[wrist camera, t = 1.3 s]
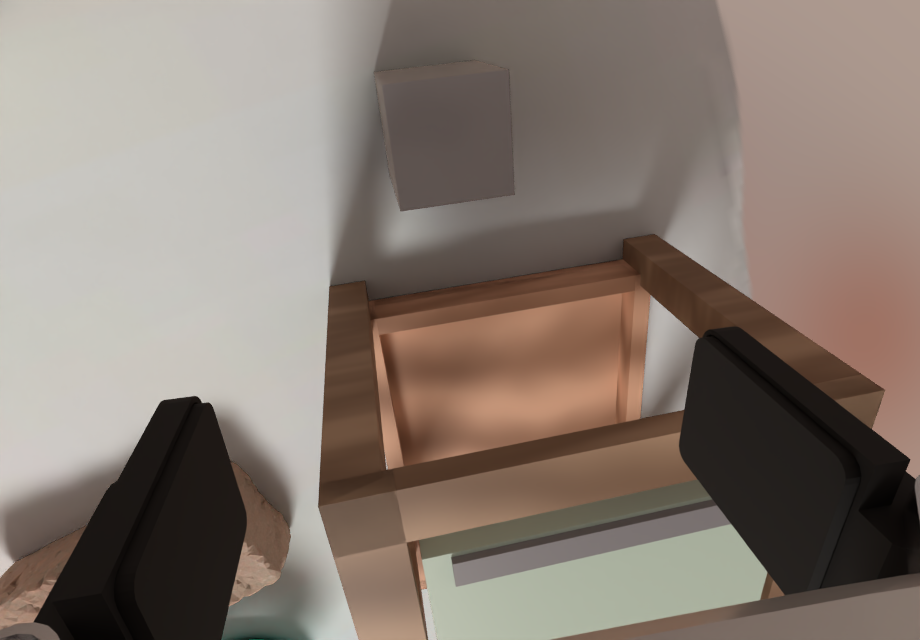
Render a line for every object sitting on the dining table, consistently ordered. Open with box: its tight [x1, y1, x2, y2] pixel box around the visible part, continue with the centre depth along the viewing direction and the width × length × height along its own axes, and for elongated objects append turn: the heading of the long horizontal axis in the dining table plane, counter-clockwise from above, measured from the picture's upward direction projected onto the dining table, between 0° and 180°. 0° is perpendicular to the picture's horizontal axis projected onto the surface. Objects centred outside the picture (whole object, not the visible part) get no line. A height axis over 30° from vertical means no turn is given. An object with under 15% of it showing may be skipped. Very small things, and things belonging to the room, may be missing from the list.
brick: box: [0, 462, 291, 630], centre depth 36 cm, size 17×8×5 cm, turn 114°
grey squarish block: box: [374, 60, 515, 211], centre depth 25 cm, size 5×5×6 cm
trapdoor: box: [419, 480, 767, 640], centre depth 24 cm, size 14×14×1 cm
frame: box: [318, 234, 885, 640], centre depth 31 cm, size 24×20×16 cm
